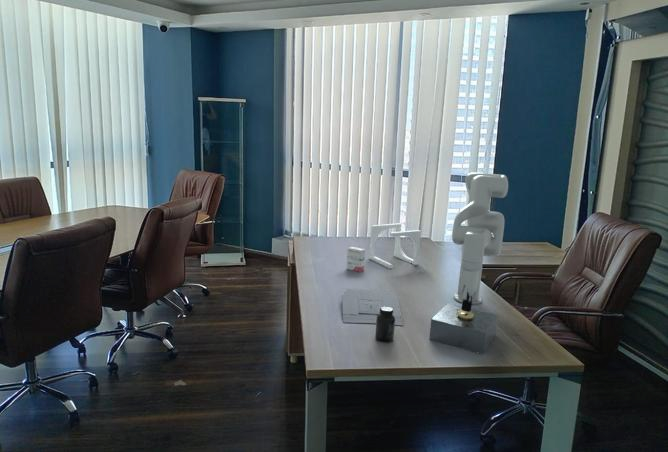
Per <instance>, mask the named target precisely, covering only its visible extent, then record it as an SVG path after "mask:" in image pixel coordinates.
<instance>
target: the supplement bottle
mask: <svg viewBox="0 0 668 452" xmlns="http://www.w3.org/2000/svg"><path fill="white" fill-rule="evenodd" d="M395 326H396V325H395V317H394V316H393V308H391V307H387V306H383V307H381V308H380V314H379V315H378V316H377V320H376V323H375V333H374V334H375V336H374V337H375V339H376V341H377V342H380V343H391V342H393V340H394V338H395V337H394V336H395Z"/></svg>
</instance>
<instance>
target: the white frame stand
mask: <svg viewBox="0 0 668 452" xmlns="http://www.w3.org/2000/svg"><path fill="white" fill-rule="evenodd" d="M388 229H395V231H391V232H389V237H391V238H393V237H395V239H394V248H393V249H394V250H393V252H394V253H393V256H394V257H396V258H398V259H401V260H403V261H405V262H407V263H409V264H411V263H412V264H411V265H413V266H418V265H419V255H420V246H421V236H422V231H421V230H420V229H413V230H405V231H404V230H402V223H397V222H396V223H387V224H373V225H371V229H370V243H369V244H370V245H369V256H368V259H370V260H371V261H374V262H375V263H376V264H380V265H382V266H383V267H386V268H388V269H393V267H394V265H393V264H392V263H391V262H388V261H386V260H384V259H381V258H380V257H377V256H376V255H375V252H376V251H375V248H376V242H377V239H378V238H379V236H380V234H381V233H382V232H384V231H386V230H388ZM404 236H406V237H408V238H410V240H411V241H412V243H413V256H412V257H413V258H411V257H409V256H407V255H406V254H405V252H404V250H403V248H402V245H401V237H404Z"/></svg>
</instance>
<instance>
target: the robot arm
mask: <svg viewBox="0 0 668 452" xmlns="http://www.w3.org/2000/svg"><path fill="white" fill-rule="evenodd" d="M464 182H465V188H466V191H467V193H468V194H467V195H468V203H467V205H465V206H464V207H463V208H462V209H461V210H459V211H458V213H457V214H456V216H455V218H454V220H453V226H452V232H451V240H452V242H453V243H454V244H455V245H459V246H461V259H460V267H459V269H460V271H459V277H458V289H457V293H454V294H453V299H454V300H455V301H457V302H458V303H461V307H462V310H463V311H467V312H470V311H471V309H472V305H478V304H481V303H482V302H483V301H482V298H481V296H480V289H481V280H482V273H483V262H484V256H485V257H489V258H490V257H492V258H497V257H500V254H501V252H502V248H503V247H502V246H503V238H504V231H505V217H504V214H503V213H501V212H499V211H491V210H490V209H491V199H492V198H500V199H503V198H505V197H506V196H507V195H508V191H509V180H508V177H507V175H506V174H499V173H497V174H496V173H488V172H487V173H486V172H470V173H468V174H466V176H465V181H464ZM465 221H467V222H466V224H467V225H462V223H464V222H465Z"/></svg>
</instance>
